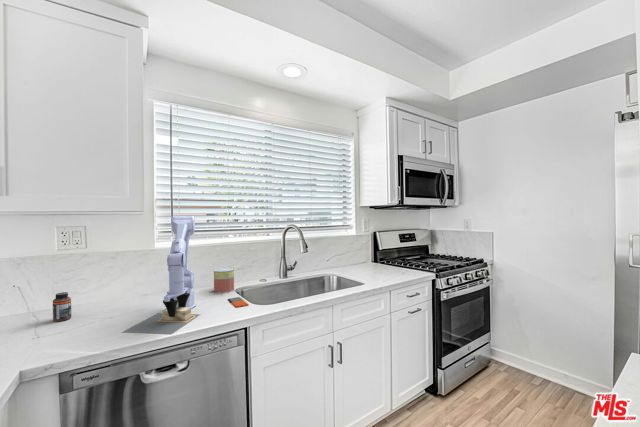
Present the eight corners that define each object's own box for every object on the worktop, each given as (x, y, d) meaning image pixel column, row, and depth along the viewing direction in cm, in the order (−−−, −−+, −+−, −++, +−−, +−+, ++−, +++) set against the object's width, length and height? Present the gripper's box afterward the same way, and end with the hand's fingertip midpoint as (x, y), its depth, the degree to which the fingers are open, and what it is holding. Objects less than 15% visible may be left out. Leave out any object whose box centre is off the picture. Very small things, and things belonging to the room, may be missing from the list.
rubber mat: (157, 314, 132) (157, 312, 132) (200, 315, 129) (200, 314, 129) (121, 333, 111) (121, 332, 111) (171, 335, 109) (171, 334, 109)
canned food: (218, 287, 177) (218, 267, 177) (236, 287, 177) (236, 267, 177) (210, 292, 166) (210, 271, 166) (230, 292, 166) (230, 271, 166)
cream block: (191, 316, 126) (190, 307, 126) (184, 320, 122) (184, 310, 122) (169, 316, 128) (169, 306, 128) (162, 319, 123) (162, 310, 123)
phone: (235, 306, 140) (227, 298, 152) (235, 309, 140) (227, 301, 152) (249, 303, 143) (239, 296, 156) (249, 306, 143) (239, 298, 156)
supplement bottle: (53, 319, 127) (52, 293, 126) (71, 316, 130) (71, 290, 130) (52, 323, 122) (52, 295, 122) (71, 319, 126) (71, 293, 126)
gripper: (177, 277, 132) (178, 307, 132) (156, 285, 118) (156, 319, 118) (192, 277, 131) (193, 308, 132) (173, 285, 117) (173, 320, 117)
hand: (177, 313), depth 125 cm, fingers open, 6 cm apart
